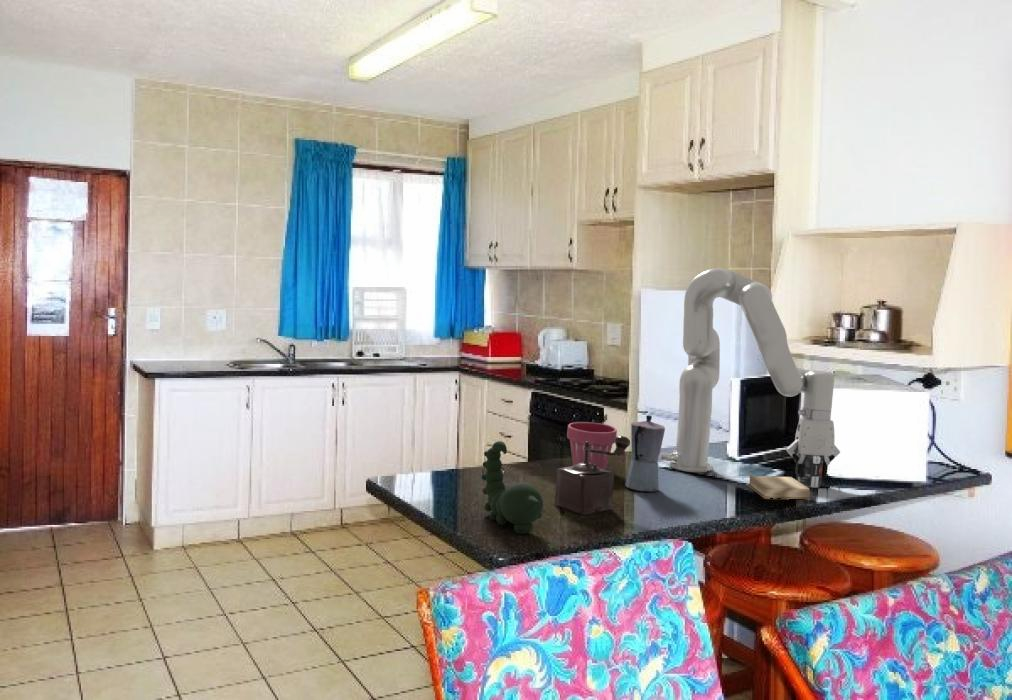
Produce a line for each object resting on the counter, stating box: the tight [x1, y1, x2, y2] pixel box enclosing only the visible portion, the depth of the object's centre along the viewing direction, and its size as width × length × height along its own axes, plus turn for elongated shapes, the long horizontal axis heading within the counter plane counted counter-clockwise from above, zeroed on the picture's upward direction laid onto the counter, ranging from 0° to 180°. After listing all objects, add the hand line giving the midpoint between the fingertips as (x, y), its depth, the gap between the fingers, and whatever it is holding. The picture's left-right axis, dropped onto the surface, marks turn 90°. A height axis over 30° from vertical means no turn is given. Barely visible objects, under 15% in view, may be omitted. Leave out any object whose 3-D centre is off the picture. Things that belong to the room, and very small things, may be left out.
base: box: [747, 475, 811, 500], centre depth 240 cm, size 13×13×3 cm
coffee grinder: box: [554, 435, 631, 516], centre depth 217 cm, size 16×11×18 cm
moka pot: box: [624, 414, 666, 492], centre depth 236 cm, size 10×15×20 cm, turn 155°
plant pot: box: [566, 421, 618, 470], centre depth 253 cm, size 14×14×13 cm
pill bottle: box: [798, 455, 824, 488], centre depth 250 cm, size 6×6×11 cm
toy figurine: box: [481, 440, 544, 535], centre depth 199 cm, size 9×19×25 cm
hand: (810, 476), depth 250 cm, fingers closed on pill bottle, 6 cm apart
